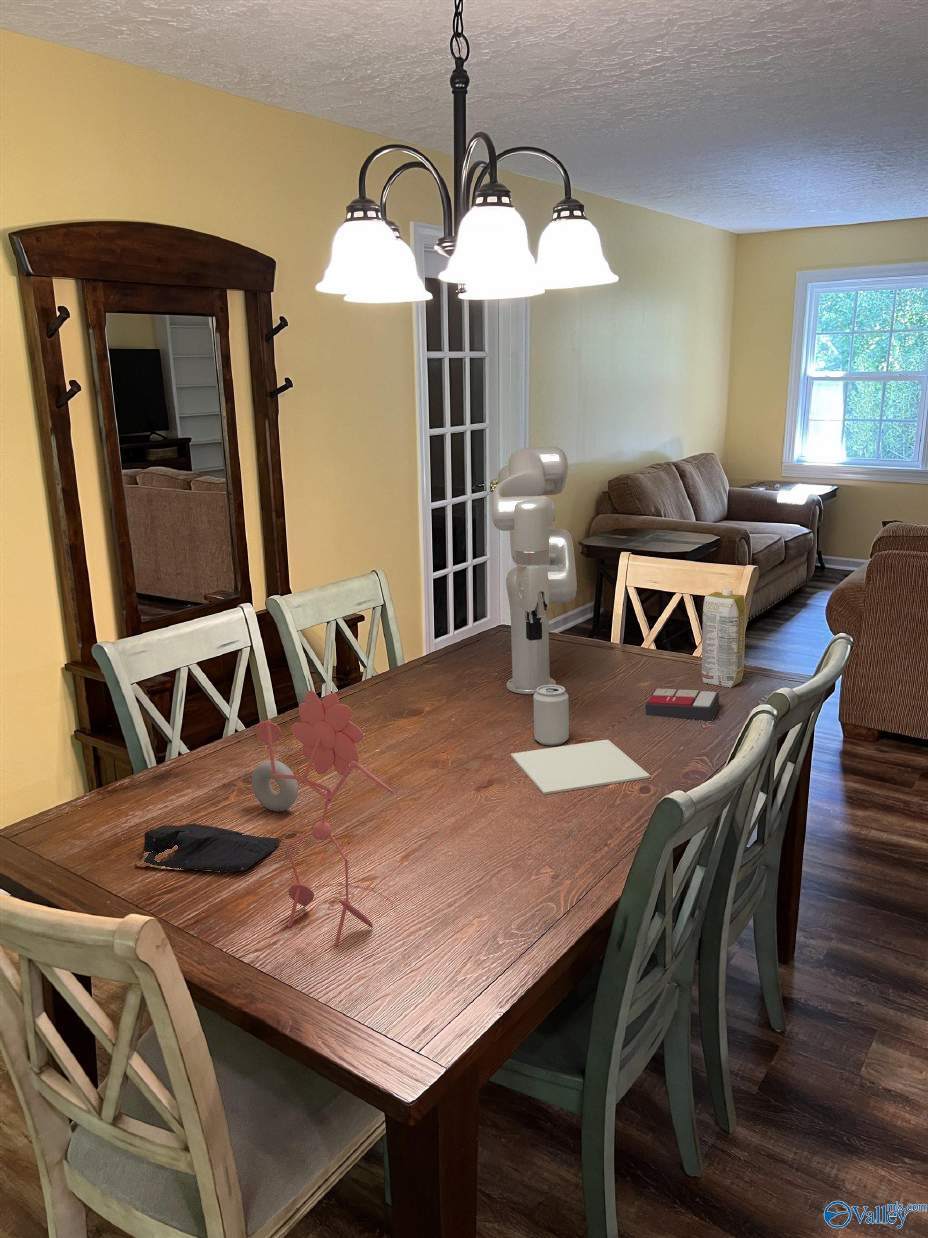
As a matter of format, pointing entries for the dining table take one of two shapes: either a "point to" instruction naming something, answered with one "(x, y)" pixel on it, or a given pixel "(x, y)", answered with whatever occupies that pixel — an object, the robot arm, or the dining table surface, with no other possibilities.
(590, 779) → the mat
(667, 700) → the gray and red box
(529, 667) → the robot arm
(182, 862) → the crumpled black cloth
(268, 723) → the pink wire flower sculpture
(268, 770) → the donut
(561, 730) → the can
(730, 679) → the juice carton
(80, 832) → the dining table surface
